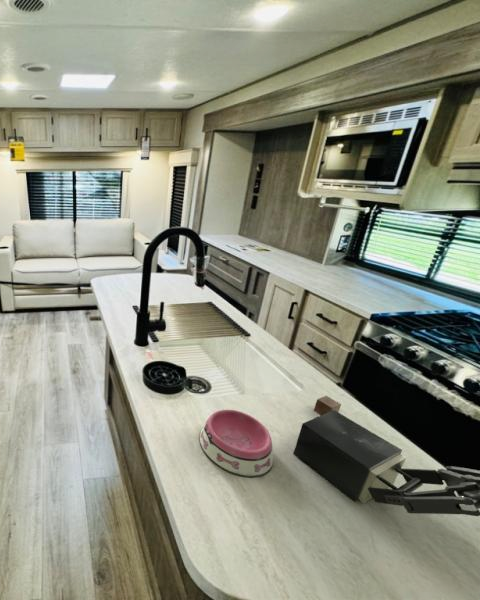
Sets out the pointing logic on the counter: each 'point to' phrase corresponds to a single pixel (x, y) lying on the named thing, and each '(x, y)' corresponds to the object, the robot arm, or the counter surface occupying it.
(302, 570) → the counter surface
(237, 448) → the dog bowl
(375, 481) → the drawer
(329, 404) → the block
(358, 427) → the cabinet
